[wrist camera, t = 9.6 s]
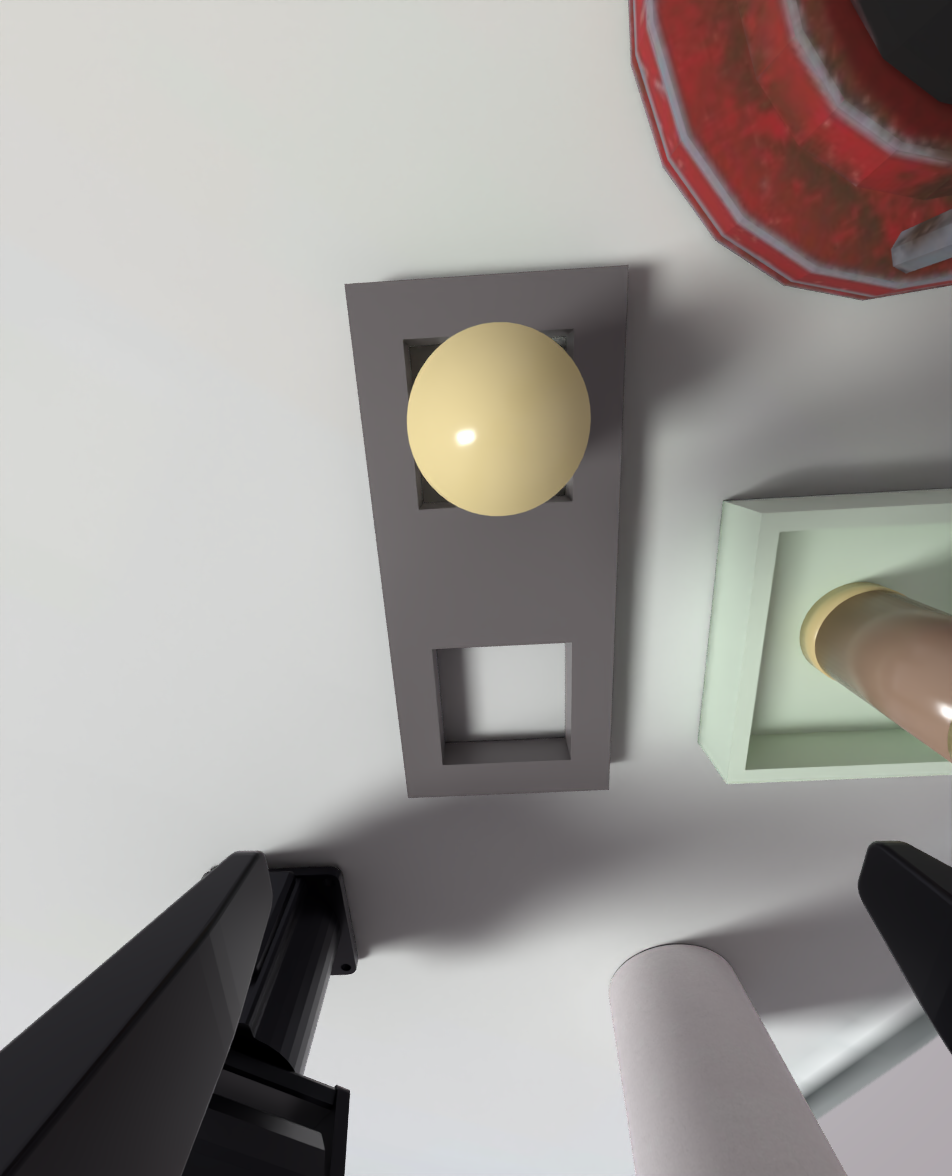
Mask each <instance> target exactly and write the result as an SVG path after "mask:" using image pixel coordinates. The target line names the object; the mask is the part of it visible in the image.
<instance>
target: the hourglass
mask: <svg viewBox="0 0 952 1176" xmlns="http://www.w3.org/2000/svg"><path fill="white" fill-rule="evenodd" d="M628 5H629V29H630V54H631V67H632V70H633V73H634V76H635V80H636V83H637V86H638V89H639V92H640V95H641V99H642V102H643V105H644V108H645V111H646V115H647V118H648V121H649V124H650V127H651V131H652V134H653V137H654V140H655V143H656V147H657V150H658V153H659V156H660V159H661V162H662V166H663V168H664V169H665V171H666V172H667V173H668V175H669V176H670V178H671V179H672V180H673V182H674V183H675V185H676V186H677V187H678V189H679V190H680V192H681V193H682V194H683V196H684V197H685V199H686V200H687V201H688V203H689V204H690V206H691V207H692V208H693V210H694V211H695V213H696V214H697V215H698V217H699V218H700V220H701V221H702V222H703V224H704V225H705V227H706V228H707V229H708V231H709V232H710V234H711V235H712V236H713V238H714V239H715V241H717V242H718V243H720V244H721V245H723V246H724V247H726V248H727V249H729V250H730V251H732V252H734V253H735V254H737V255H738V256H740V257H741V258H743V259H744V260H746V261H747V262H749V263H750V264H752V265H753V266H755V267H756V268H758V269H760V270H761V271H763V272H764V273H766V274H767V275H769V276H770V277H772V278H773V279H775V280H776V281H778V282H779V283H781V284H782V285H785V286H790V287H795V288H800V289H806V290H811V291H816V292H821V293H827V294H832V295H837V296H842V297H848V298H853V299H858V300H868V299H874V298H880V297H886V296H892V295H897V294H903V293H909V292H915V291H921V290H927V289H933V288H939V287H945V286H950V285H952V0H628Z"/></svg>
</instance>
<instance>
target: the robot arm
mask: <svg viewBox="0 0 952 1176" xmlns="http://www.w3.org/2000/svg"><path fill="white" fill-rule="evenodd" d="M858 890H859V894H860V897H861V900H862V902H863V904H864V906H865V908H866V909H867V911H868V913H869V915H870V916H871V918H872V920H873V922H874V923H875V925H876V927H877V929H878V930H879V932H880V934H881V936H882V938H883V939H884V941H885V943H886V945H887V946H888V948H889V950H890V952H891V953H892V955H893V957H894V959H895V961H896V962H897V964H898V966H899V968H900V969H901V971H902V973H903V975H904V976H905V978H906V980H907V982H908V983H909V985H910V987H911V989H912V991H913V992H914V994H915V996H916V998H917V999H918V1001H919V1003H920V1005H921V1006H922V1008H923V1010H924V1011H925V1013H926V1015H927V1016H928V1018H929V1020H930V1021H931V1023H932V1025H933V1026H934V1028H935V1029H936V1031H937V1033H938V1034H939V1036H940V1037H941V1039H942V1040H943V1042H944V1043H945V1045H946V1047H947V1048H948V1049H949V1051H950V1053H951V1054H952V867H950V866H948V865H946V864H944V863H942V862H941V861H939V860H937V859H935V858H933V857H932V856H930V855H928V854H926V853H924V852H922V851H921V850H919V849H917V848H915V847H913V846H912V845H910V844H908V843H905V842H901V841H875V842H873V843H871V844H870V845H869V847H868V849H867V852H866V856H865V859H864V862H863V866H862V869H861V873H860V876H859V880H858ZM357 963H358V955H357V950H356V945H355V940H354V934H353V929H352V924H351V918H350V913H349V908H348V902H347V897H346V892H345V887H344V881H343V876H342V873H341V871H340V870H339V869H337V868H335V867H307V868H281V869H268V866H267V860H266V857H265V855H264V853H263V852H261V851H237V852H234V853H233V854H231V855H230V856H228V857H227V858H226V859H225V860H224V861H222V862H221V863H220V864H219V865H218V866H217V867H215V868H214V869H213V870H212V871H210V872H207V873H205V874H204V875H203V877H202V879H201V880H200V881H199V882H198V883H197V884H195V885H194V886H193V887H192V888H191V889H190V890H188V891H187V892H186V893H185V894H184V895H183V896H181V897H180V898H179V899H178V900H177V901H176V902H174V903H173V904H172V905H171V906H170V907H168V908H167V909H166V910H165V911H164V912H163V913H161V914H160V915H159V916H158V917H157V918H156V919H154V920H153V921H152V922H151V923H150V924H149V925H147V926H146V927H145V928H144V929H143V930H142V931H140V932H139V933H138V934H137V935H136V936H134V937H133V938H132V939H131V940H130V941H129V942H127V943H126V944H125V945H124V946H123V947H122V948H120V949H119V950H118V951H117V952H116V953H115V954H113V955H112V956H111V957H110V958H109V959H107V960H106V961H105V962H104V963H103V964H102V965H100V966H99V967H98V968H97V969H96V970H95V971H93V972H92V973H91V974H90V975H89V976H88V977H86V978H85V979H84V980H83V981H82V982H81V983H79V984H78V985H77V986H76V987H75V988H73V989H72V990H71V991H70V992H69V993H68V994H66V995H65V996H64V997H63V998H62V999H61V1000H59V1001H58V1002H57V1003H56V1004H55V1005H54V1006H52V1007H51V1008H50V1009H49V1010H48V1011H47V1012H45V1013H44V1014H43V1015H42V1016H41V1017H39V1018H38V1019H37V1020H36V1021H35V1022H34V1023H32V1024H31V1025H30V1026H29V1027H28V1028H27V1029H25V1030H24V1031H23V1032H22V1033H21V1034H20V1035H18V1036H17V1037H16V1038H15V1039H14V1040H12V1041H11V1042H10V1043H9V1044H8V1045H7V1046H5V1047H4V1048H3V1049H2V1050H1V1051H0V1176H344V1174H345V1159H346V1144H347V1129H348V1114H349V1099H350V1090H348V1089H346V1088H343V1087H341V1086H338V1085H336V1086H335V1087H331V1086H329V1085H326V1084H324V1083H321V1082H319V1081H316V1080H313V1079H311V1078H308V1077H306V1076H303V1074H304V1071H305V1067H306V1063H307V1059H308V1056H309V1052H310V1048H311V1045H312V1041H313V1037H314V1033H315V1030H316V1026H317V1022H318V1019H319V1015H320V1011H321V1008H322V1004H323V1000H324V996H325V993H326V989H327V985H328V982H329V978H330V975H348V974H352V973H354V972H355V971H356V967H357Z"/></svg>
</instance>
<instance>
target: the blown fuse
mask: <svg viewBox="0 0 952 1176" xmlns="http://www.w3.org/2000/svg"><path fill="white" fill-rule="evenodd" d="M799 638H800V647H801V650H802V653H803V655H804V657H805V658H806V660H807V661H808V662H809V663H810V664H811V665H812V666H814V667H815V668H816V669H818V670H819V671H821V672H822V673H823V674H825V675H826V676H828V677H829V678H831V679H832V680H835V681H837V682H838V683H840V684H841V685H843V686H844V687H845V688H847V689H848V690H850V691H851V692H852V693H854V694H855V695H857V696H858V697H859V698H861V699H862V700H864V701H865V702H867V703H868V704H869V705H871V706H872V707H874V708H875V709H876V710H878V711H879V712H881V713H882V714H883V715H885V716H886V717H888V718H889V719H890V720H892V721H893V722H895V723H896V724H897V725H899V726H900V727H902V728H903V729H904V730H906V731H907V732H909V733H910V734H911V735H913V736H914V737H916V738H917V739H918V740H920V741H921V742H923V743H924V744H925V745H927V746H928V747H930V748H931V749H932V750H934V751H935V752H937V753H938V754H940V755H941V756H942V757H944V758H945V759H947V760H948V761H949V762H951V763H952V615H951V614H949V613H946V612H944V611H941V610H938V609H936V608H933V607H931V606H928V605H926V604H923V603H921V602H918V601H916V600H913V599H911V598H908V597H907V596H905V595H904V594H902V593H899V592H897V591H895V590H892V589H890V588H887V587H884V586H882V585H879V584H876V583H871V582H854V583H849V584H845V585H843V586H840V587H837V588H835V589H833V590H831V591H830V592H828V593H826V594H825V595H824V596H822V597H821V598H820V599H819V600H818V601H817V602H816V603H815V604H814V605H813V606H812V607H811V608H810V610H809V611H808V613H807V614H806V616H805V618H804V620H803V623H802V625H801V630H800V637H799Z"/></svg>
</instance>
